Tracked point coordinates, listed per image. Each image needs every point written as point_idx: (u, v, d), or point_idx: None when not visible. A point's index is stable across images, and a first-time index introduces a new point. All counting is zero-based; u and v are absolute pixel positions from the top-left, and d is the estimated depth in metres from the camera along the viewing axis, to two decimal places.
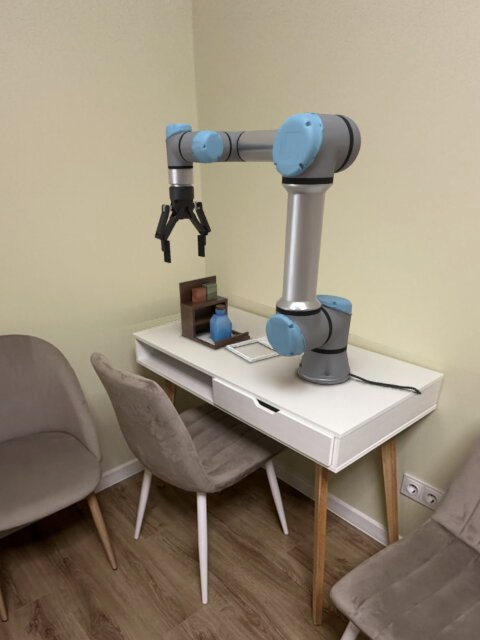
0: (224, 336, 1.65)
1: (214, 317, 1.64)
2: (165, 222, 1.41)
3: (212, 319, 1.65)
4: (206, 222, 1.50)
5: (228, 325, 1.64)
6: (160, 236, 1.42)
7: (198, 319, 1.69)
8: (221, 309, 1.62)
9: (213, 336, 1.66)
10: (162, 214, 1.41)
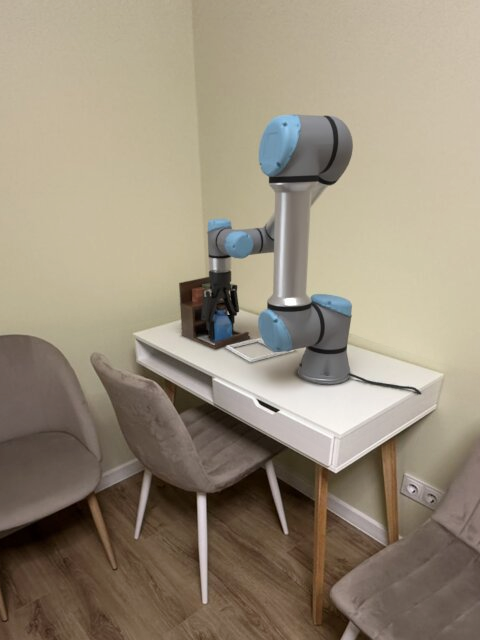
0: (224, 336, 1.65)
1: (214, 317, 1.64)
2: (208, 306, 1.58)
3: None
4: (237, 303, 1.66)
5: (228, 325, 1.64)
6: (206, 319, 1.59)
7: (198, 319, 1.69)
8: (221, 309, 1.62)
9: None
10: (204, 299, 1.57)
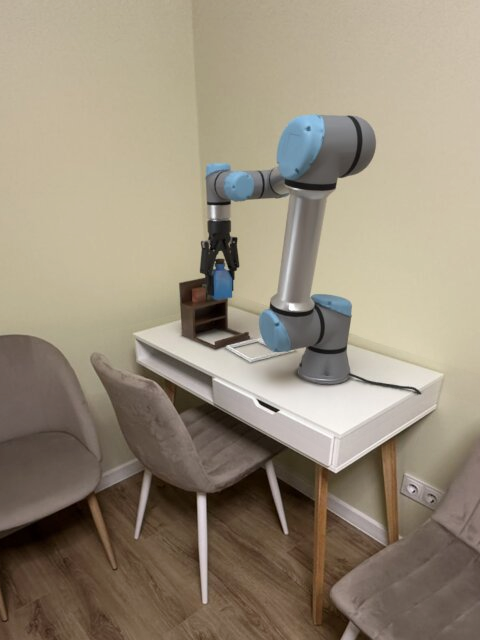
0: (224, 292, 1.57)
1: (213, 272, 1.56)
2: (207, 257, 1.49)
3: (211, 274, 1.57)
4: (237, 257, 1.57)
5: (228, 280, 1.56)
6: (205, 271, 1.51)
7: (198, 319, 1.69)
8: (221, 263, 1.54)
9: None
10: (203, 250, 1.49)
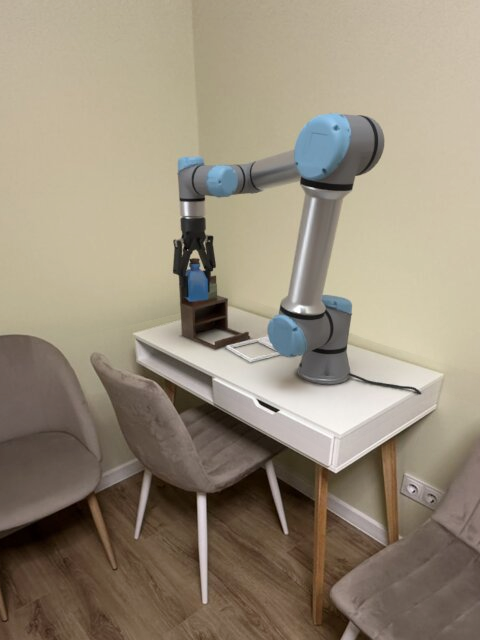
0: (199, 294, 1.49)
1: (187, 272, 1.47)
2: (180, 257, 1.41)
3: (186, 275, 1.49)
4: (213, 257, 1.49)
5: (204, 281, 1.47)
6: (178, 272, 1.42)
7: (198, 319, 1.69)
8: (195, 263, 1.45)
9: None
10: (175, 250, 1.41)
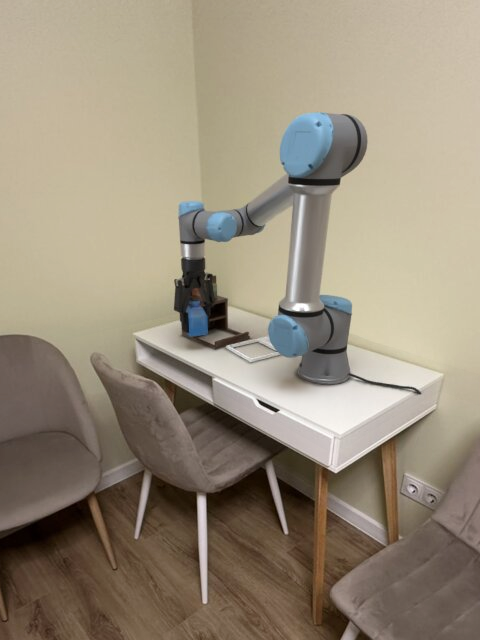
0: (199, 329, 1.54)
1: (188, 309, 1.53)
2: (181, 296, 1.46)
3: (186, 311, 1.54)
4: (212, 294, 1.54)
5: (204, 318, 1.53)
6: (179, 310, 1.48)
7: None
8: (195, 300, 1.51)
9: None
10: (176, 288, 1.46)
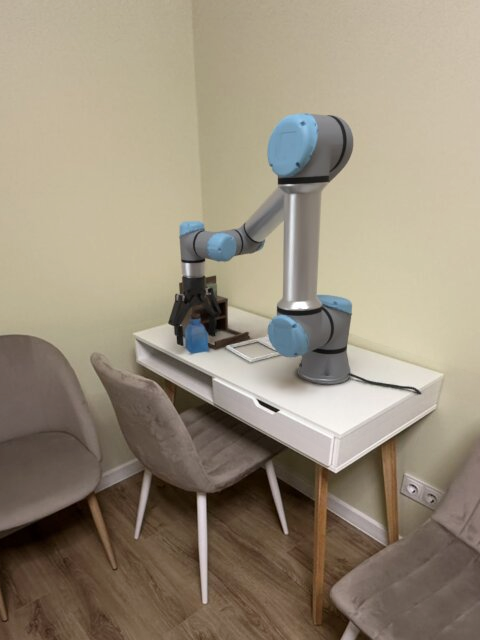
0: (200, 346, 1.57)
1: (189, 326, 1.56)
2: (178, 310, 1.48)
3: (187, 328, 1.57)
4: (217, 305, 1.57)
5: (204, 335, 1.56)
6: (173, 323, 1.48)
7: None
8: (196, 318, 1.54)
9: (188, 346, 1.58)
10: (175, 303, 1.48)
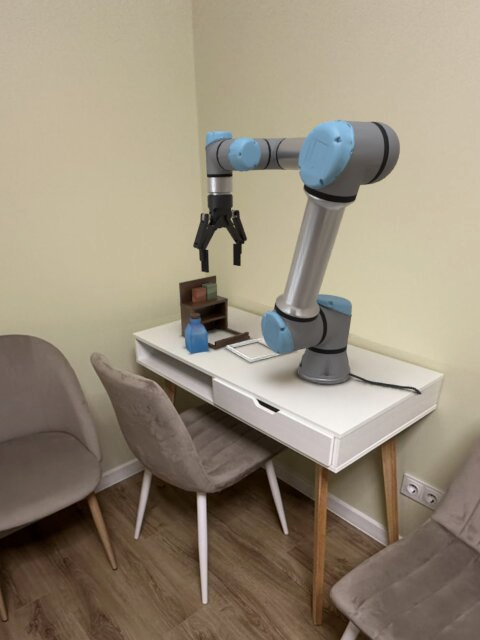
0: (200, 346, 1.57)
1: (189, 326, 1.56)
2: (204, 231, 1.38)
3: (187, 328, 1.57)
4: (242, 230, 1.48)
5: (204, 335, 1.56)
6: (199, 245, 1.39)
7: None
8: (196, 318, 1.54)
9: (188, 346, 1.58)
10: (201, 223, 1.38)
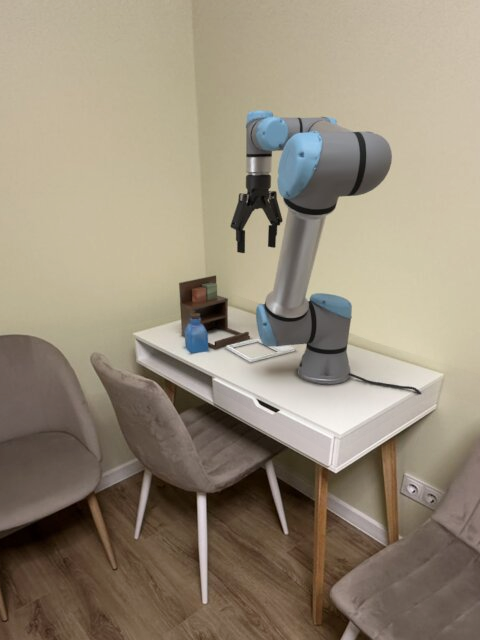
0: (200, 346, 1.57)
1: (189, 326, 1.56)
2: (242, 211, 1.39)
3: (187, 328, 1.57)
4: (279, 212, 1.49)
5: (204, 335, 1.56)
6: (237, 225, 1.40)
7: None
8: (196, 318, 1.54)
9: (188, 346, 1.58)
10: (239, 203, 1.39)
